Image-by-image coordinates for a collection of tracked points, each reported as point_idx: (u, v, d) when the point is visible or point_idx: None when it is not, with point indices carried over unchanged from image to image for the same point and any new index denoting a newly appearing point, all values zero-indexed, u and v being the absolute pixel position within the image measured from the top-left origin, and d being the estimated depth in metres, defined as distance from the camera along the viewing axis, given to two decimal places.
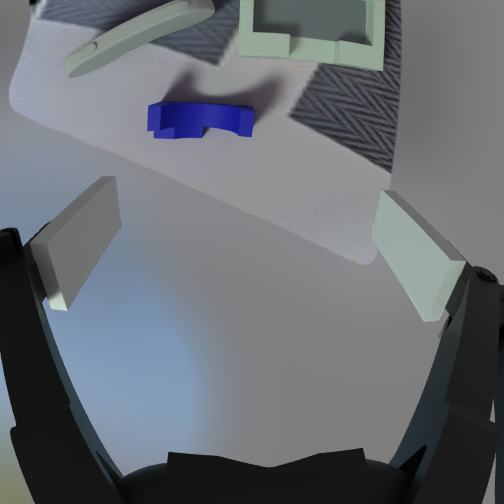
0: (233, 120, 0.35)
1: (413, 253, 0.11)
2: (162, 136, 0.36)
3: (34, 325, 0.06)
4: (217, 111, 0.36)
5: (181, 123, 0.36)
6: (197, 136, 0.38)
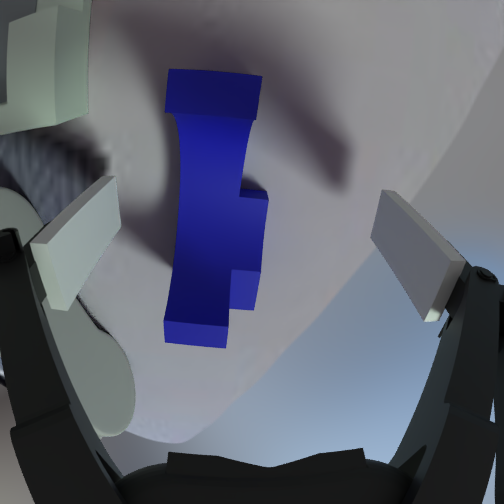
0: (217, 127, 0.12)
1: (413, 253, 0.11)
2: (252, 294, 0.17)
3: (34, 325, 0.06)
4: (197, 162, 0.14)
5: (225, 250, 0.16)
6: (263, 211, 0.16)
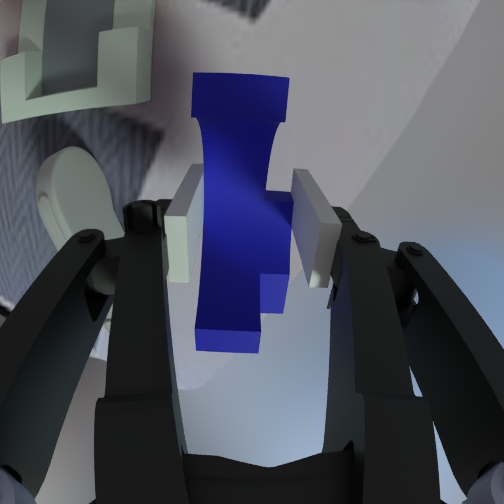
0: (241, 130, 0.12)
1: (304, 223, 0.13)
2: (280, 297, 0.17)
3: (156, 302, 0.07)
4: (221, 167, 0.14)
5: (252, 254, 0.16)
6: (289, 213, 0.16)
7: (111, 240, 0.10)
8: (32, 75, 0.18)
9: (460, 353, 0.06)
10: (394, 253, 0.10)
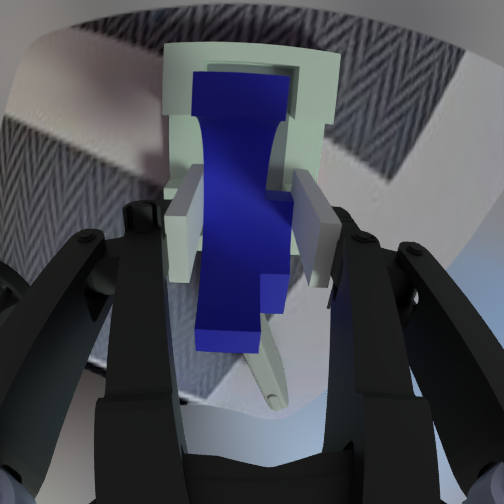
0: (242, 129, 0.12)
1: (304, 222, 0.13)
2: (281, 297, 0.17)
3: (156, 302, 0.07)
4: (221, 167, 0.14)
5: (252, 254, 0.16)
6: (289, 213, 0.16)
7: (111, 240, 0.10)
8: None
9: (461, 353, 0.06)
10: (394, 253, 0.10)
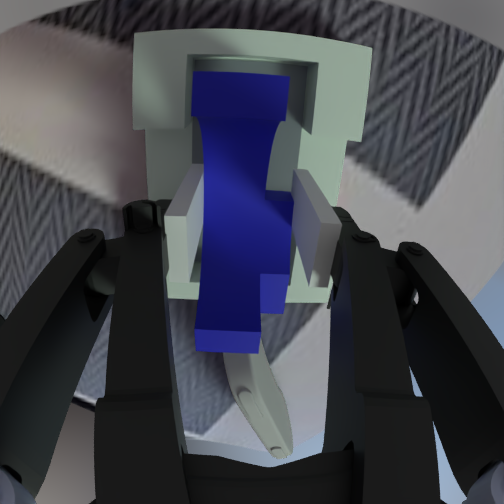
0: (241, 129, 0.12)
1: (304, 222, 0.13)
2: (281, 297, 0.17)
3: (156, 303, 0.07)
4: (221, 167, 0.14)
5: (252, 254, 0.16)
6: (289, 213, 0.16)
7: (111, 240, 0.10)
8: None
9: (460, 353, 0.06)
10: (394, 253, 0.10)
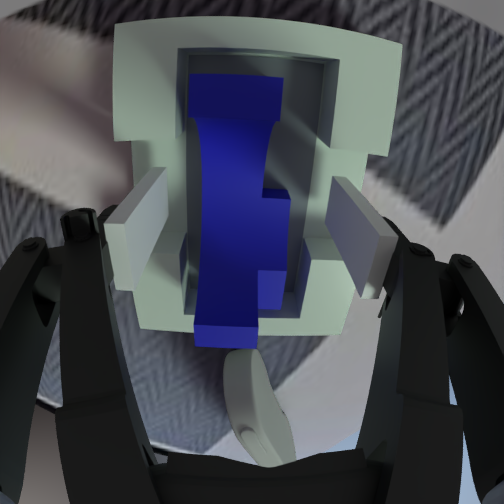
0: (238, 129, 0.12)
1: (353, 233, 0.13)
2: (278, 293, 0.17)
3: (100, 308, 0.06)
4: (219, 166, 0.15)
5: (250, 251, 0.17)
6: (286, 210, 0.16)
7: (55, 248, 0.09)
8: (184, 276, 0.18)
9: (496, 360, 0.06)
10: (446, 264, 0.10)
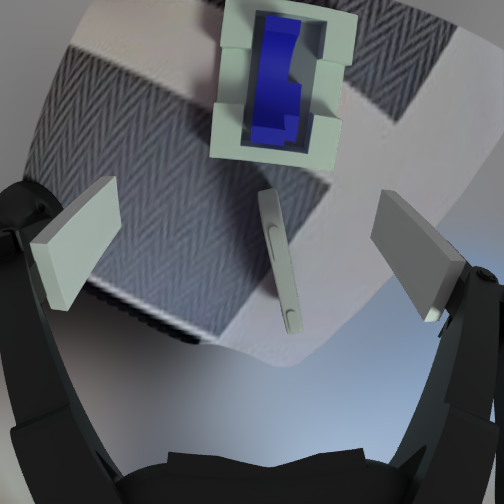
0: (280, 43, 0.25)
1: (413, 253, 0.11)
2: (294, 130, 0.30)
3: (33, 325, 0.06)
4: (268, 63, 0.27)
5: (280, 106, 0.29)
6: (299, 89, 0.29)
7: None
8: (242, 124, 0.31)
9: None
10: None
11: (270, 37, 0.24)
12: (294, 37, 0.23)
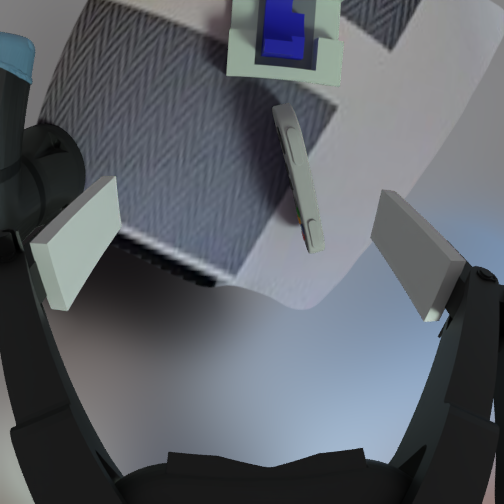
0: None
1: (413, 253, 0.11)
2: (301, 49, 0.29)
3: (34, 325, 0.06)
4: None
5: (287, 30, 0.29)
6: (302, 18, 0.28)
7: None
8: None
9: None
10: None
11: None
12: None
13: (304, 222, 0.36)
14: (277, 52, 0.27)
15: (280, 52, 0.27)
